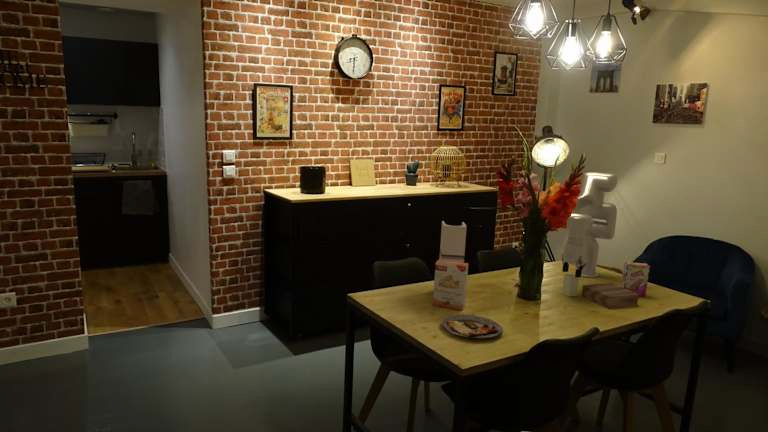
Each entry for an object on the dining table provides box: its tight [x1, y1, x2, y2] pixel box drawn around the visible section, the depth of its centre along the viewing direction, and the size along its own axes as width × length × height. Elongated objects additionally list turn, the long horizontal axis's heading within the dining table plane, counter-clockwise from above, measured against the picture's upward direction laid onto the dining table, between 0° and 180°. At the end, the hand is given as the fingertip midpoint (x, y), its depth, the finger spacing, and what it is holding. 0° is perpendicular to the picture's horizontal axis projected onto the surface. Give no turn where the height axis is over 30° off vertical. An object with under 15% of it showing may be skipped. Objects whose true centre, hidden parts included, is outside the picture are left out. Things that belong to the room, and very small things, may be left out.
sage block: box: [561, 273, 580, 297], centre depth 269 cm, size 5×5×10 cm
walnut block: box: [581, 282, 640, 309], centre depth 263 cm, size 18×18×6 cm
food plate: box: [440, 314, 504, 340], centre depth 218 cm, size 25×23×4 cm
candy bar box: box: [620, 261, 651, 297], centre depth 273 cm, size 11×5×16 cm, turn 84°
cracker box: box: [432, 259, 469, 311], centre depth 242 cm, size 14×6×21 cm, turn 70°
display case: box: [438, 220, 467, 263], centre depth 258 cm, size 11×11×35 cm
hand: (571, 274), depth 268 cm, fingers open, 9 cm apart
